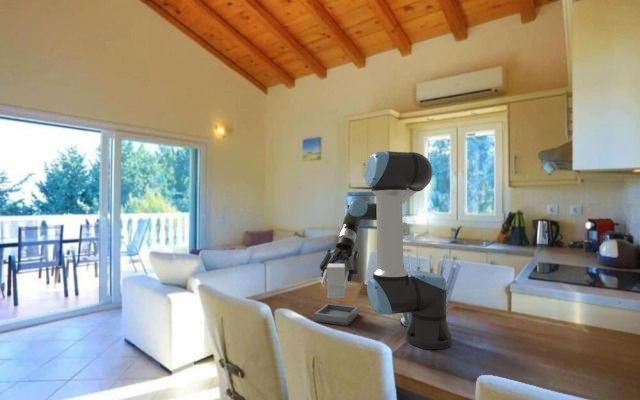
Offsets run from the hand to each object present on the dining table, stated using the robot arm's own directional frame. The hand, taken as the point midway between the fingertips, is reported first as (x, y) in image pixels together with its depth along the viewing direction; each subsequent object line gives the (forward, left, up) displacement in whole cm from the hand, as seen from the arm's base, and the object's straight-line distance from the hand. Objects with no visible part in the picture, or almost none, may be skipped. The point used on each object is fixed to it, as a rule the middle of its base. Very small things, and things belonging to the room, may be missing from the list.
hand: (333, 286), depth 139 cm
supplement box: (0, -3, -5) cm, 6 cm away
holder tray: (0, -3, -14) cm, 14 cm away
